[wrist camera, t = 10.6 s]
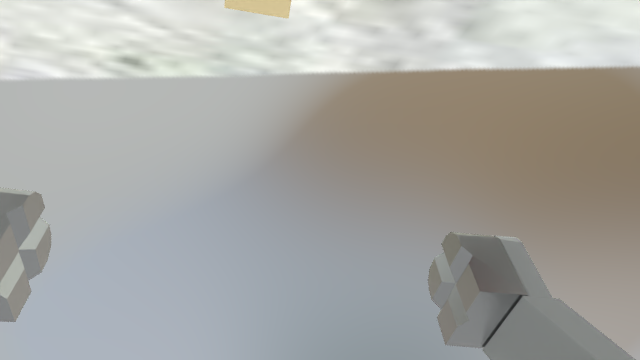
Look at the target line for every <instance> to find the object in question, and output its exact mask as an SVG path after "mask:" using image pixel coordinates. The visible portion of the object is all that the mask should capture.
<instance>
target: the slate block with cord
mask: <svg viewBox="0 0 640 360" xmlns="http://www.w3.org/2000/svg"><path fill="white" fill-rule="evenodd" d="M290 5H291V0H225V8H229V9H235V10H241V11H247V12H253V13H259V14H265V15H271V16H277V17H282V18H289V11H290Z"/></svg>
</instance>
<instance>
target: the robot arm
mask: <svg viewBox="0 0 640 360" xmlns="http://www.w3.org/2000/svg"><path fill="white" fill-rule="evenodd" d="M44 208H45V206H44V203H43V199H42V196H41V194H39V193H37V192H34V191H26V190H16V189H9V188H0V321H4V322H5V321H6V322H15V321H16V319H17V318H18V316H19V314H20V312H21V310H22V308H23V306H24V305H25V303H26V301H27V299H28V297H29V295H30V293H31V288H30V285H29V282H28V280H30V279H32V278H33V277H35V276H36V275H38V274H39V273H41V272H42V270H43V268H44V266H45V264H46V262H47V260H48V256H49V252H50V248H51V231H50V227H49V224H48V223H46V221H44V220H43V219H42V218H41V217H40V215H41V213H42V212H43V210H44ZM442 247H443V250H444V253H442V254H440V255H439V256H437V257H435V258H434V260H433V262H432V265H431V267H430V269H429V277H428V285H429V291H430V295H431V299H432V301H433V302H434V303H435V304H436V305H437V306H438V307H440V308H441V311H440V313H439V315H438V317H437V319H438V322H439V326H440V329H441V332H442V335H443V339H444V342H445V345H450V346H462V347H475V348H483V351H484V353H485V354H486V355H487V356H488V357H489V359H490V360H635V359H634V358H633V357H632V356H631V355H629V354H628V353H627V352H626V351H624V350H623V349H622V348H620V347H619V346H618V345H617V344H615V343H614V342H613V341H612V340H611V339H609V338H608V337H607V336H605V335H604V334H603V333H602V332H600V331H599V330H598V329H597V328H595V327H594V326H593V325H592V324H590V323H589V322H588V321H587V320H585V319H584V318H583V317H582V316H580V315H579V314H578V313H577V312H575V311H574V310H573V309H572V308H570V307H569V306H568V305H567V304H565V303H564V302H563V301H562V300H560V299H556V298H552V296H551V294H550V292H549V291H548V289H547V287H546V285H545V283H544V281H543V280H542V278H541V276H540V274H539V272H538V271H537V269H536V267H535V265H534V263H533V261H532V260H531V258H530V256H529V255H528V252H527V251H526V249H525V247H524V245H523V243H522V242H521V241H520V240H519V239H518V238H516V237H504V236H490V235H479V234H467V233H456V232H450V233H449V234H448V235H447V236H446V237H445V239H444V241H443V242H442Z"/></svg>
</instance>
